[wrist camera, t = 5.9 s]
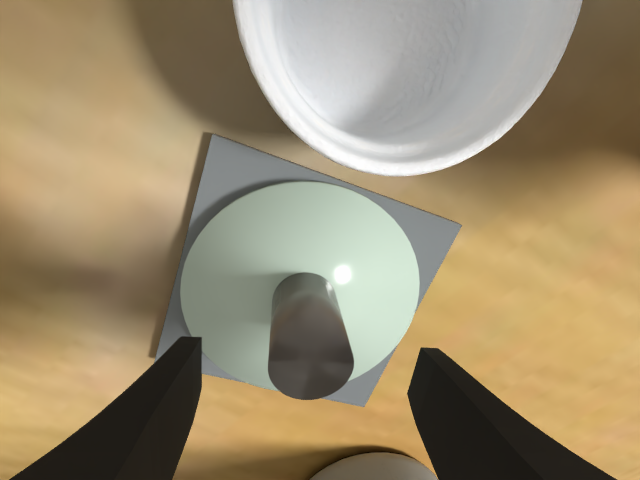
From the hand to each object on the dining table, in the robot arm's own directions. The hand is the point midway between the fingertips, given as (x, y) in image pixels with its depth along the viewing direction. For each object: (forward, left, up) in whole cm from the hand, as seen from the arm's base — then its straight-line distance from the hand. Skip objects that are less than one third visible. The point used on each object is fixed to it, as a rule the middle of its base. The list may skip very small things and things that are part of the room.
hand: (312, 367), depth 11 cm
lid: (0, 0, -5) cm, 5 cm away
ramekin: (+1, -11, -5) cm, 12 cm away
